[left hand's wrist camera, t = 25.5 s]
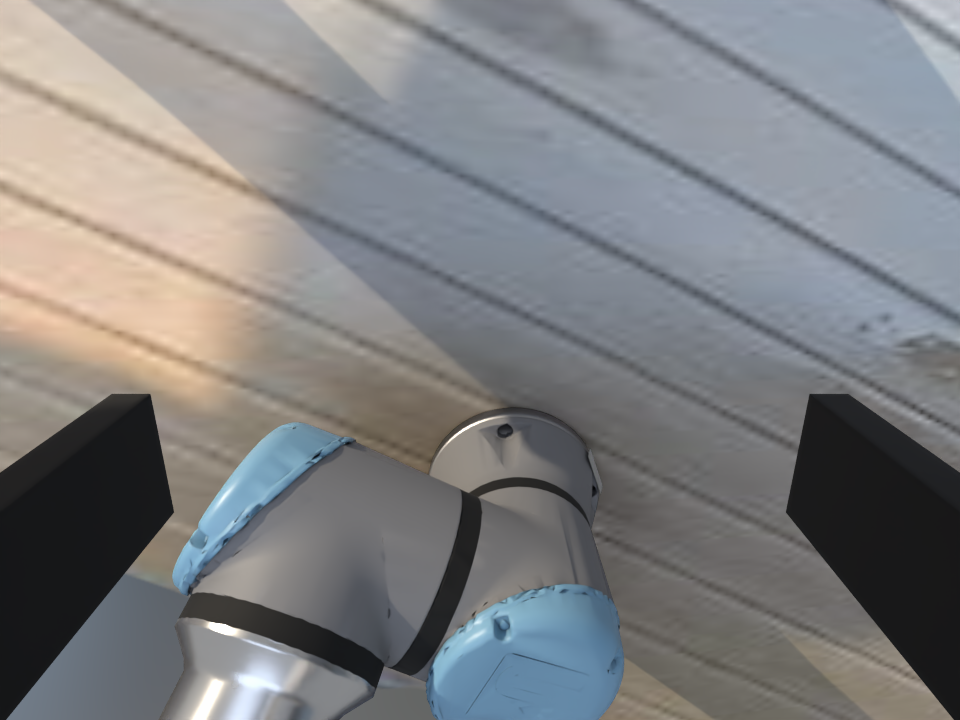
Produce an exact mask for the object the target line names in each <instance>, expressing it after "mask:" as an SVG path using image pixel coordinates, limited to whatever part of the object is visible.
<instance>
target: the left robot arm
mask: <svg viewBox="0 0 960 720" xmlns="http://www.w3.org/2000/svg"><path fill="white" fill-rule="evenodd" d="M602 486H603V485H602V482H601V479H600V476H599V473H598V470H597V467H596V464H595V461H594V458H593V455H592V452H591V449H590V451H589V450H588V448H587V446H586V445H585V443H584V442H583V440H582V439H581V438H580V437H579V435H578V434H577V433H576V432H575V431H574V430H573V429H571V428H570V427H569V426H568V425H566V424H565V423H563V422H562V421H560V420H559V419H557V418H555V417H553V416H551V415H548V414H546V413H543V412H539V411H536V410H531V409H524V408H502V409H496V410H491V411H487V412H484V413H481V414H478V415H476V416H474V417H472V418H470V419H468V420H466V421H464V422H463V423H461V424H460V425H459V426H457V427H456V428H455V429H454V430H452V431H451V432H450V433H449V434H448V435H447V436H446V437H445V439H444V440H443V441H442V443H441V444H440V445H439V447H438V449H437V450H436V452H435V454H434V457H433V459H432V462H431V465H430V470H429V475H428V474H426V473H423V472H421V471H419V470H417V469H414V468H412V467H410V466H408V465H405V464H403V463H401V462H399V461H397V460H394V459H392V458H390V457H388V456H385V455H383V454H381V453H379V452H377V451H374V450H372V449H370V448H368V447H365V446H363V445H361V444H359V443H356V440H355V439H353V438H351V437H343V438H342V437H340V436H337V435H334V434H332V433H329V432H327V431H324V430H321V429H319V428H316V427H314V426H311V425H308V424H305V423H298V422H294V423H288V424H285V425H282V426H280V427H278V428H276V429H275V430H273V431H272V432H271V433H269V434H268V435H267V436H266V437H264V438H263V439H262V440H261V441H260V442H259V443H258V444H257V445H256V446H255V447H254V448H253V449H252V451H251V452H250V453H249V454H248V455H247V456H246V458H245V459H244V460H243V461H242V462H241V464H240V465H239V466H238V467H237V469H236V470H235V471H234V472H233V474H232V475H231V476H230V478H229V479H228V480H227V482H226V483H225V484H224V486H223V487H222V489H221V490H220V491H219V493H218V494H217V496H216V497H215V498H214V500H213V501H212V503H211V504H210V506H209V507H208V509H207V510H206V512H205V514H204V515H203V517H202V518H201V520H200V522H199V525H198V526H199V527H198V529H197V530H196V531H195V532H194V533H193V535H192V536H191V538H190V540H189V541H188V543H187V544H186V545H185V547H184V548H183V550H182V552H181V554H180V556H179V558H178V560H177V563H176V565H175V568H174V571H173V575H172V577H173V582H174V585H175V586H176V587H178V588H179V590H180V592H181V593H182V594H184V595H187V596H188V595H189V594H190V595H191V596H190V598H189V600H188V602H187V604H186V606H185V608H184V610H183V611H182V613H181V615H180V617H179V619H178V621H177V623H176V625H175V629H176V632H177V636H178V639H179V643H180V646H181V650H182V654H183V657H184V671H183V673H182V675H181V677H180V679H179V681H178V683H177V685H176V687H175V689H174V691H173V693H172V695H171V697H170V698H169V701H168V702H167V704H166V706H165V708H164V710H163V712H162V714H161V716H160V718H159V720H339V719H340V718H341V717H342V716H343V715H345V714H347V713H348V712H350V711H352V710H353V709H355V708H356V707H358V706H360V705H361V704H363V703H365V702H366V701H368V700H370V699H371V698H373V697H374V694H375V691H376V688H377V685H378V682H379V679H380V676H381V673H382V670H383V667H384V666H386V667H388V668H391V669H394V670H396V671H399V672H402V673H404V674H407V675H410V676H412V677H414V678H417V679H420V680H422V681H425V682H426V688H427V689H426V693H427V700H428V702H429V704H430V707H431V711H432V714H433V716H434V717H435V718H436V719H437V720H598V719H599V718H600V717H601V716H602V715H603V714H604V713H605V711H606V710H607V709H608V708H609V706H610V705H611V703H612V702H613V700H614V698H615V696H616V694H617V692H618V690H619V687H620V685H621V681H622V677H623V672H624V654H623V648H622V643H621V638H620V632H619V628H620V621H619V617H618V613H617V609H616V607H615V605H614V602H613V599H612V596H611V592H610V589H609V586H608V583H607V580H606V576H605V573H604V570H603V567H602V563H601V560H600V557H599V554H598V551H597V547H596V544H595V541H594V538H593V535H592V531H591V528H592V524H593V520H594V516H595V512H596V508H597V503H598V497H599V491H600V494H601V492H602ZM173 513H174V510H173V505H172V500H171V495H170V490H169V485H168V480H167V475H166V470H165V465H164V460H163V455H162V450H161V445H160V440H159V435H158V430H157V425H156V420H155V415H154V410H153V405H152V400H151V395H150V394H111V395H110V396H108V397H107V398H106V399H104V400H103V401H101V402H100V403H98V404H97V405H96V406H94V407H93V408H91V409H90V410H89V411H87V412H86V413H84V414H83V415H81V416H80V417H79V418H77V419H76V420H74V421H73V422H71V423H70V424H69V425H67V426H66V427H64V428H63V429H62V430H60V431H59V432H57V433H56V434H54V435H53V436H52V437H50V438H49V439H47V440H46V441H45V442H43V443H42V444H40V445H39V446H37V447H36V448H35V449H33V450H32V451H30V452H29V453H28V454H26V455H25V456H23V457H22V458H20V459H19V460H18V461H16V462H15V463H13V464H12V465H10V466H9V467H8V468H6V469H5V470H3V471H2V472H1V473H0V720H6V719H7V718H8V717H9V715H10V714H11V713H12V712H13V710H14V709H15V708H16V707H17V705H18V704H19V703H20V702H21V701H22V699H23V698H24V697H25V696H26V694H27V693H28V692H29V691H30V689H31V688H32V687H33V686H34V685H35V683H36V682H37V681H38V680H39V678H40V677H41V676H42V675H43V673H44V672H45V671H46V670H47V668H48V667H49V666H50V665H51V664H52V662H53V661H54V660H55V659H56V657H57V656H58V655H59V654H60V652H61V651H62V650H63V649H64V647H65V646H66V645H67V644H68V643H69V641H70V640H71V639H72V638H73V636H74V635H75V634H76V633H77V631H78V630H79V629H80V628H81V627H82V625H83V624H84V623H85V622H86V620H87V619H88V618H89V617H90V615H91V614H92V613H93V612H94V610H95V609H96V608H97V607H98V606H99V604H100V603H101V602H102V601H103V599H104V598H105V597H106V596H107V594H108V593H109V592H110V591H111V589H112V588H113V587H114V586H115V585H116V583H117V582H118V581H119V580H120V578H121V577H122V576H123V575H124V573H125V572H126V571H127V570H128V568H129V567H130V566H131V565H132V564H133V562H134V561H135V560H136V559H137V557H138V556H139V555H140V554H141V552H142V551H143V550H144V549H145V548H146V546H147V545H148V544H149V543H150V541H151V540H152V539H153V538H154V536H155V535H156V534H157V533H158V531H159V530H160V529H161V528H162V527H163V525H164V524H165V523H166V522H167V520H168V519H169V518H170V517H171V515H172V514H173ZM786 513H787V514H788V515H789V517H790V518H791V519H792V520H793V522H794V523H795V524H796V525H797V527H798V528H799V529H800V530H801V531H802V533H803V534H804V535H805V536H806V538H807V539H808V540H809V541H810V543H811V544H812V545H813V546H814V548H815V549H816V550H817V551H818V552H819V554H820V555H821V556H822V557H823V559H824V560H825V561H826V562H827V564H828V565H829V566H830V567H831V569H832V570H833V571H834V572H835V573H836V575H837V576H838V577H839V578H840V580H841V581H842V582H843V583H844V585H845V586H846V587H847V588H848V589H849V591H850V592H851V593H852V594H853V596H854V597H855V598H856V599H857V601H858V602H859V603H860V604H861V606H862V607H863V608H864V609H865V610H866V612H867V613H868V614H869V615H870V617H871V618H872V619H873V620H874V622H875V623H876V624H877V625H878V627H879V628H880V629H881V630H882V631H883V633H884V634H885V635H886V636H887V638H888V639H889V640H890V641H891V643H892V644H893V645H894V646H895V648H896V649H897V650H898V651H899V652H900V654H901V655H902V656H903V657H904V659H905V660H906V661H907V662H908V664H909V665H910V666H911V667H912V669H913V670H914V671H915V672H916V673H917V675H918V676H919V677H920V678H921V680H922V681H923V682H924V683H925V685H926V686H927V687H928V688H929V689H930V691H931V692H932V693H933V694H934V696H935V697H936V698H937V699H938V701H939V702H940V703H941V704H942V706H943V707H944V708H945V709H946V710H947V712H948V713H949V714H950V715H951V717H952V718H953V719H954V720H960V473H959V472H958V471H957V470H955V469H954V468H952V467H951V466H950V465H948V464H947V463H945V462H944V461H942V460H941V459H940V458H938V457H937V456H935V455H934V454H932V453H931V452H930V451H928V450H927V449H925V448H924V447H923V446H921V445H920V444H918V443H917V442H915V441H914V440H913V439H911V438H910V437H908V436H907V435H906V434H904V433H903V432H901V431H900V430H898V429H897V428H896V427H894V426H893V425H891V424H890V423H889V422H887V421H886V420H884V419H883V418H881V417H880V416H879V415H877V414H876V413H874V412H873V411H871V410H870V409H869V408H867V407H866V406H864V405H863V404H862V403H860V402H859V401H857V400H856V399H854V398H853V397H852V396H850V395H849V394H810V395H809V400H808V405H807V410H806V415H805V420H804V425H803V430H802V435H801V440H800V445H799V450H798V455H797V460H796V465H795V470H794V475H793V480H792V485H791V490H790V495H789V500H788V505H787V510H786Z"/></svg>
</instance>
